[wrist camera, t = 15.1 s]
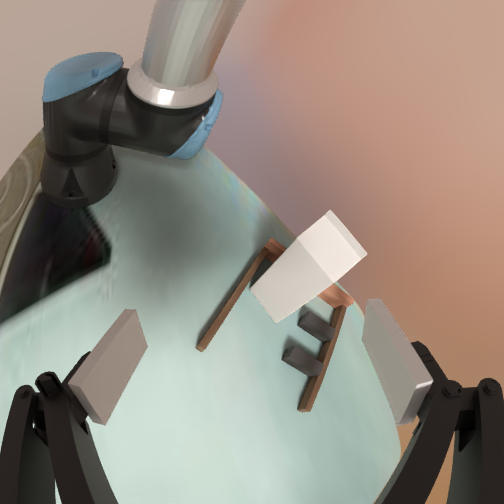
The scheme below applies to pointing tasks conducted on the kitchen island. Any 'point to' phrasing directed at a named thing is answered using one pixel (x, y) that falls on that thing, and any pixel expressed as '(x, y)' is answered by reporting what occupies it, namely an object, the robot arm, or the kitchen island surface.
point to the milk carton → (307, 267)
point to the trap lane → (306, 322)
